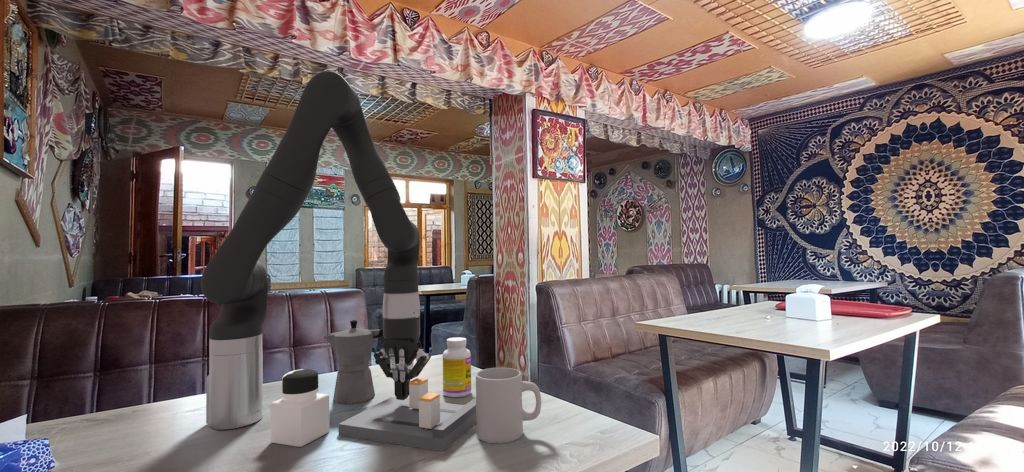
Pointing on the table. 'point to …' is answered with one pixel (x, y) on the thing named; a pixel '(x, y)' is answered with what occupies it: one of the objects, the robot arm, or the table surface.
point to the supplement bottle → (456, 368)
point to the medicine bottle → (299, 410)
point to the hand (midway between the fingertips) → (402, 398)
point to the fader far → (417, 391)
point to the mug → (502, 404)
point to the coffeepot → (353, 363)
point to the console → (410, 424)
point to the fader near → (429, 410)
